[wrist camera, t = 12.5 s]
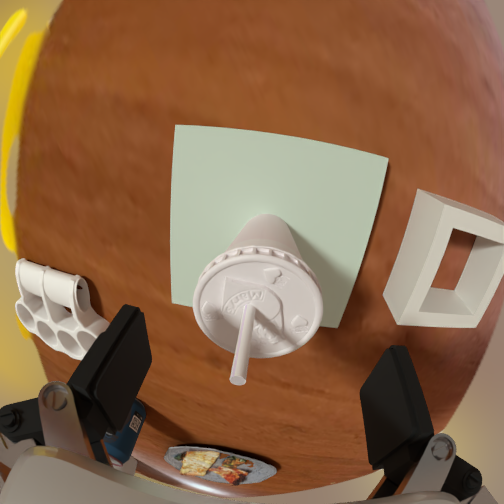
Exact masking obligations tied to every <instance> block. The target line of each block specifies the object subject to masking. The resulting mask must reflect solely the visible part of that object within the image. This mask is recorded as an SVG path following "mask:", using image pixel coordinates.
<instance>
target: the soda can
mask: <svg viewBox="0 0 504 504" xmlns="http://www.w3.org/2000/svg"><path fill="white" fill-rule="evenodd" d="M145 418H146V412H145V408H144V405H143V404H142V403H141V402H140V401H139V400H138V399H136V398H135V400H134V403H133V405H132V407H131V410H130V412H129V414H128V416H127V419H126V421H125V423H124V426H123V428H122V429H121V430H120V431H118V430H117V432H116V435H113V434H110V433H108V432H106V434H105V436H104V438H103V441H104V444H105V447H106V449H107V452H108V455H109V457H110V460H111V462H112V465H115V466H119V467H122V466H123V464H124V463H125V462H127V461H128V460H129V459H130V456H131V454H132V451H133V448H134V446H135V443H136V441H137V438H138V435H139V433H140V430H141V428H142V425H143V423H144V420H145Z"/></svg>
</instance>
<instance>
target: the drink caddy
mask: <svg viewBox="0 0 504 504" xmlns="http://www.w3.org/2000/svg"><path fill="white" fill-rule="evenodd" d="M453 228H455V229H459V230H462V231H465V232H468V233H472V234H475V235H477V237H476V239H475V242H474V245H473V248H472V250H471V253H470V255H469V258H468V261H467V263H466V265H465V268H464V270H463V272H462V275H461V277H460V279H459V282H458V284H457V286H456V288H455V290H447V289H439V288H432V287H430V286H431V284H432V281H433V279H434V277H435V275H436V272H437V270H438V267H439V265H440V262H441V260H442V257H443V255H444V252H445V249H446V247H447V244H448V241H449V238H450V235H451V232H452V229H453ZM503 274H504V222H503V221H501V220H500V219H498V218H496V217H495V216H493V215H491V214H488V213H486V212H483V211H481V210H478V209H476V208H473V207H470V206H468V205H465V204H462V203H460V202H457V201H454V200H451V199H448V198H445V197H442V196H439V195H436V194H433V193H430V192H427V191H424V190H421V189H417V193H416V197H415V201H414V204H413V208H412V212H411V215H410V219H409V222H408V225H407V228H406V232H405V235H404V238H403V241H402V244H401V247H400V250H399V253H398V256H397V258H396V261H395V264H394V267H393V269H392V272H391V275H390V277H389V280H388V282H387V285H386V287H385V290H384V292H383V297H384V299H385V301H386V303H387V305H388V307H389V309H390V311H391V313H392V315H393V317H394V319H395V321H396V323H397V325H411V326H429V327H456V328H476V326H477V324H478V323H479V321H480V319H481V318H482V316H483V314H484V312H485V310H486V309H487V307H488V305H489V303H490V301H491V299H492V297H493V295H494V293H495V291H496V289H497V287H498V285H499V283H500V280H501V278H502V276H503Z"/></svg>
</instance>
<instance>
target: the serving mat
mask: <svg viewBox="0 0 504 504" xmlns="http://www.w3.org/2000/svg"><path fill="white" fill-rule="evenodd" d="M388 159H389V158H386V157H383V156H379V155H375V154H372V153H368V152H364V151H360V150H356V149H352V148H348V147H343V146H339V145H335V144H330V143H325V142H320V141H315V140H310V139H305V138H299V137H293V136H287V135H281V134H274V133H267V132H259V131H251V130H243V129H233V128H222V127H209V126H193V125H175V136H174V149H173V164H172V184H171V220H170V256H171V291H172V303H175V304H180V305H185V306H190V307H193V295H194V291H195V288H196V286H197V284H198V280H199V277H200V275H201V274H202V272H203V271H204V269H205V267H206V266H207V265H208V264H209V263H210V262H211V261H213V260H214V259H215V258H216V257H217V256H218V255H220V254H222V253H224V252H225V251H226V250H227V248H228V247H229V246H230V244H231V243H232V242H233V240H234V239H235V238H236V237H237V235H238V234H239V233H240V231H241V230H242V229H243V227H244V226H245V225H246V224H247V222H248V221H249V220H250V219H251V218H253V217H255V216H257V215H260V214H273V215H276V216H278V217H280V218H281V219H282V220H283V221H284V222H285V223H286V224H287V226H288V228H289V230H290V232H291V234H292V237H293V239H294V241H295V243H296V246H297V248H298V250H299V252H300V255H301V257H302V259H303V261H304V262H305V263H306V264H307V265H308V267H309V268H310V269H311V270H312V271H313V272H314V273H315V275H316V277H317V279H318V282H319V284H320V286H321V290H322V299H323V316H322V320H321V323H320V326H323V327H333V328H338V326H339V323H340V321H341V318H342V316H343V313H344V310H345V308H346V305H347V302H348V300H349V297H350V294H351V291H352V289H353V286H354V283H355V280H356V277H357V274H358V271H359V268H360V265H361V262H362V259H363V256H364V253H365V249H366V246H367V243H368V239H369V236H370V233H371V229H372V226H373V222H374V218H375V215H376V211H377V207H378V203H379V199H380V195H381V191H382V187H383V182H384V178H385V174H386V169H387V164H388Z"/></svg>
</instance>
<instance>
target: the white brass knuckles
mask: <svg viewBox="0 0 504 504" xmlns="http://www.w3.org/2000/svg"><path fill="white" fill-rule="evenodd" d="M15 272H16V278H17V284H18V288H19V291H20V294H21V298H20V299H19V300H18V301H17V302H16V304H15V308H16V312H17V315H18V317H19V319H20V321H21V322H22V324H23V325H24V326H25V327H26V329H27V330H28V331H30V332H32V333H34V334H36V335H37V336H39V337H40V338H41V339H42V340H43V341H44V342H45V343H46V344H47V345H49V346H50V347H52V348H53V349H55V350H56V351H62V352H64V353H66V354H67V355H69V356H70V357H72V358H74V359H78V360H82V359H83V358H84V356H85V355H86V353H87V352H88V350H89V349H90V347H91V346H92V344H93V343H94V341H95V340H96V338H97V337H98V336H99V334H100V333H102V332H105V331H106V329H107V328H108V326H109V325H110V323H109V322H108V321H107V320H105V319H104V318H103V317H101V316H99V315H98V314H97V313H96V312H95V311H94V310H93V308H92V307H91V304H90V294H89V290H88V285H87V283H86V281H85V279H84V278H81V276H79V275H75V276H74V275H71V274H68V273H64V272H61V271H58V270H55V269H51V268H50V267H49V266H46V267H45V266H42V265H39V264H36V263H33V262H30V261H27V260H26V259H24V258H22V259H19V260H18V261H17V263H16V270H15ZM77 285H79V286H81V287H82V288H83V289H77ZM41 297H42V298H41ZM64 306H66V307H69V308H71V310H72V313H69V312H68V311H67V310H66V309H65V307H64Z"/></svg>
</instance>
